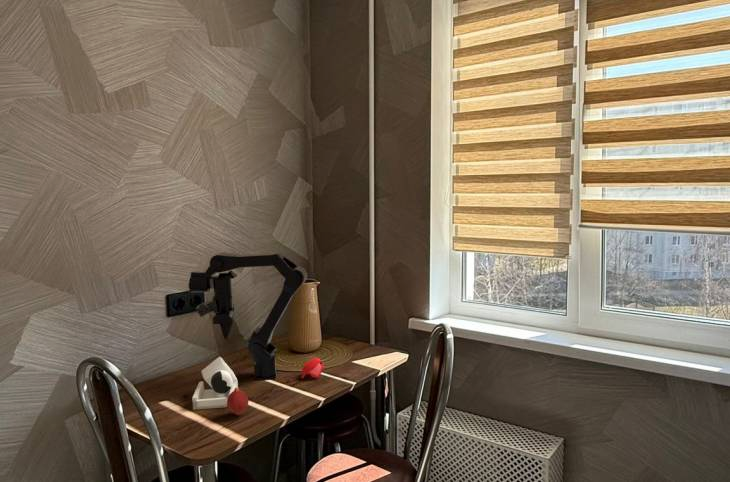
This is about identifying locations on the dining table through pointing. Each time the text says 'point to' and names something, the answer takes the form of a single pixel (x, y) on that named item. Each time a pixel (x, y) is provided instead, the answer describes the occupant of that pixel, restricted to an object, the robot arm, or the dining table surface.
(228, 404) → the red rounded lump
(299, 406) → the dining table surface
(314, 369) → the cap
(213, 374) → the medicine bottle
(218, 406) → the cradle
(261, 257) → the robot arm
